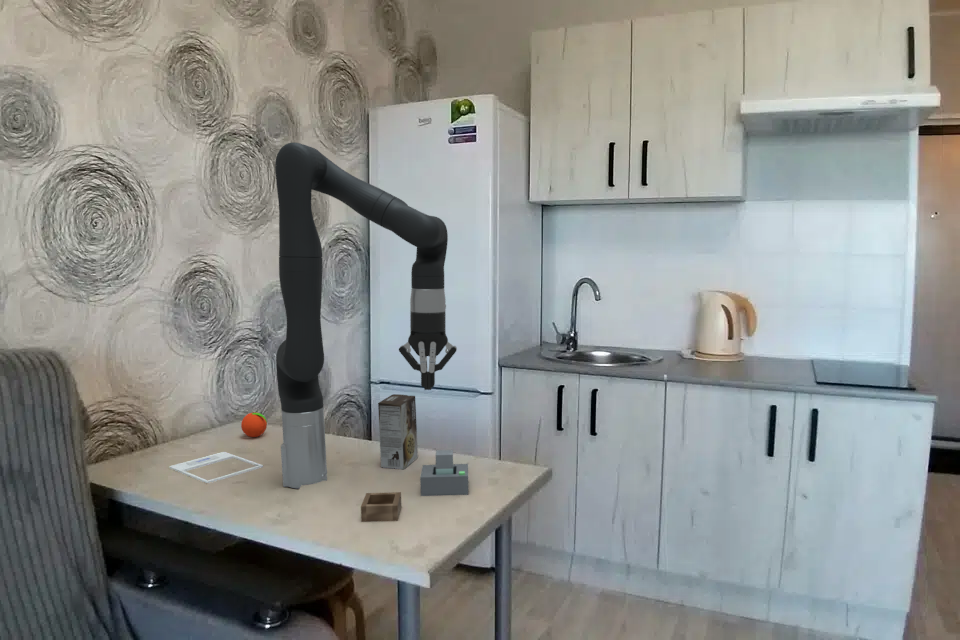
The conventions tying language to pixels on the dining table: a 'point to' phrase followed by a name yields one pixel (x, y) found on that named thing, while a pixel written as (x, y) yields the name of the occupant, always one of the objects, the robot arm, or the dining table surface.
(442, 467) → the plug
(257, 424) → the clementine
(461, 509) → the dining table surface
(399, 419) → the coffee box
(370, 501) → the wooden box
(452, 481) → the port
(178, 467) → the photo frame
